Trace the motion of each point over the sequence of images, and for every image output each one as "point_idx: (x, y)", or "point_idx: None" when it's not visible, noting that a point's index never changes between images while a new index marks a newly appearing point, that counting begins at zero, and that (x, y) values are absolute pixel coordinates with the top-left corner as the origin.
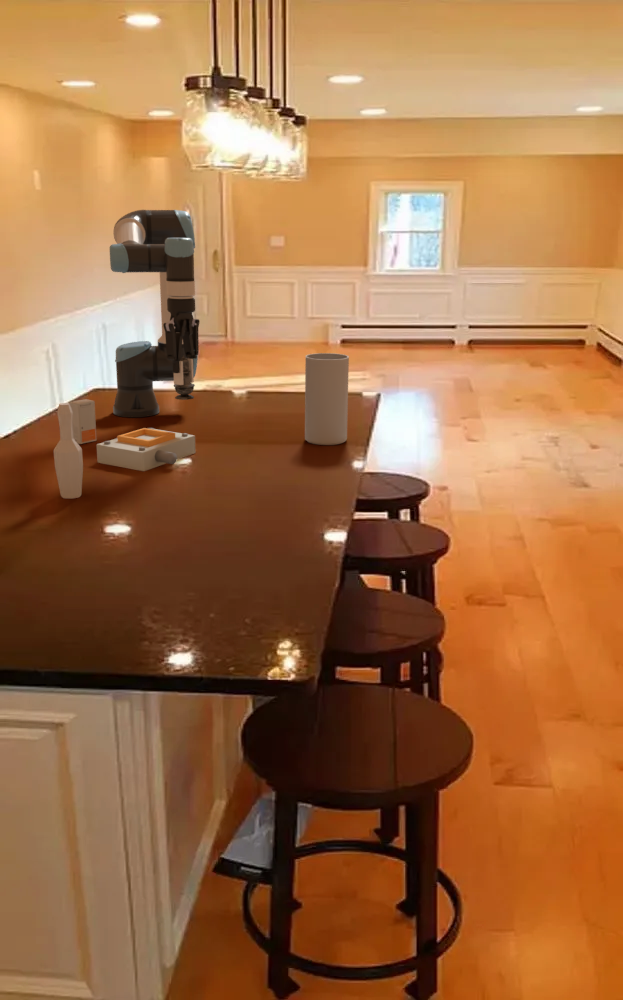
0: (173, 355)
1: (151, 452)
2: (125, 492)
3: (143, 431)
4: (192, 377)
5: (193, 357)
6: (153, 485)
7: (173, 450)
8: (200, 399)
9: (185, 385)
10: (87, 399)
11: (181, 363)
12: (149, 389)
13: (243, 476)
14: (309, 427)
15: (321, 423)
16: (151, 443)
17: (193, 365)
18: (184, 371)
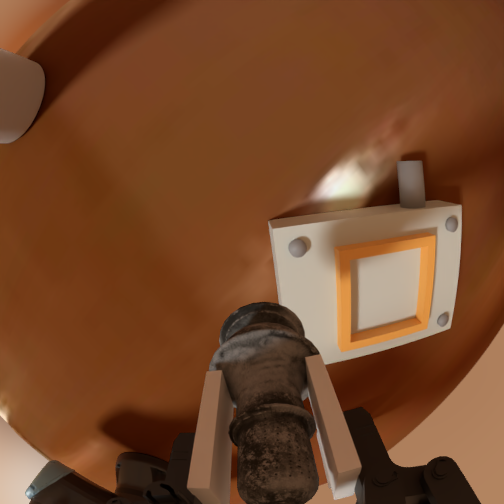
0: (463, 476)
1: (438, 206)
2: (500, 144)
3: (352, 338)
4: (213, 390)
5: (182, 495)
6: (469, 126)
7: (363, 212)
8: (46, 438)
9: (294, 350)
10: (330, 486)
11: (353, 455)
12: (128, 487)
13: (335, 16)
14: (22, 93)
15: (18, 63)
16: (425, 234)
17: (172, 452)
18: (295, 419)
